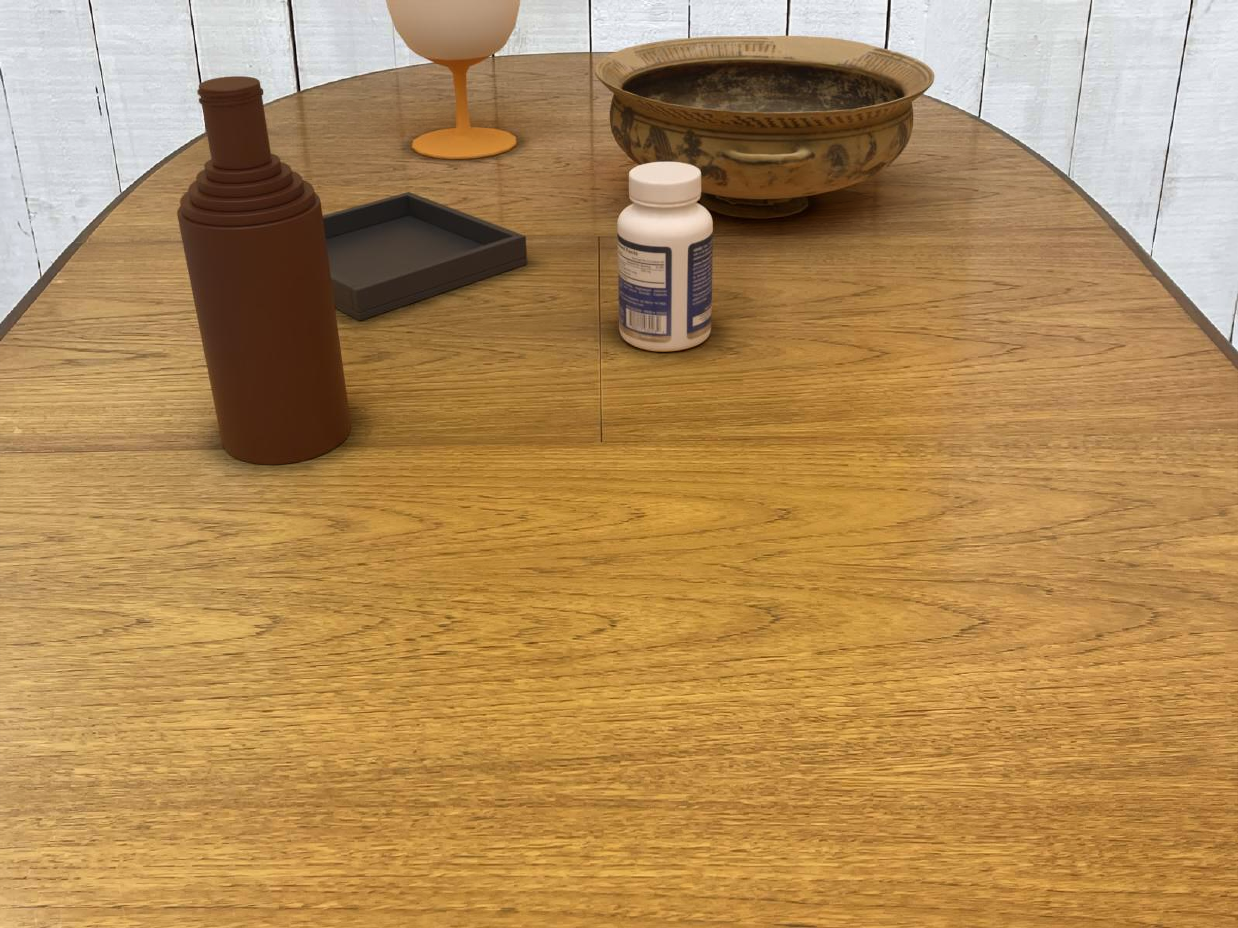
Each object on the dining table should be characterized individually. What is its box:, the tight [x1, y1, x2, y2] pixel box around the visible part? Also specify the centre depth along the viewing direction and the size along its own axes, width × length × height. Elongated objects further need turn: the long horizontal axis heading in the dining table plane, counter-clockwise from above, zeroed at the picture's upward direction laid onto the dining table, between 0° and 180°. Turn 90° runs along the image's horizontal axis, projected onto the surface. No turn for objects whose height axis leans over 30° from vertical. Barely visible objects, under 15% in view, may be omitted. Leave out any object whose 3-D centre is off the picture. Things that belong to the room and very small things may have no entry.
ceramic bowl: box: [594, 35, 935, 219], centre depth 92 cm, size 30×24×10 cm
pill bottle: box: [616, 162, 714, 353], centre depth 71 cm, size 5×5×10 cm
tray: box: [322, 191, 528, 322], centre depth 83 cm, size 13×13×2 cm
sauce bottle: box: [176, 75, 352, 465], centre depth 59 cm, size 6×6×18 cm
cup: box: [385, 0, 521, 160], centre depth 104 cm, size 12×12×17 cm
